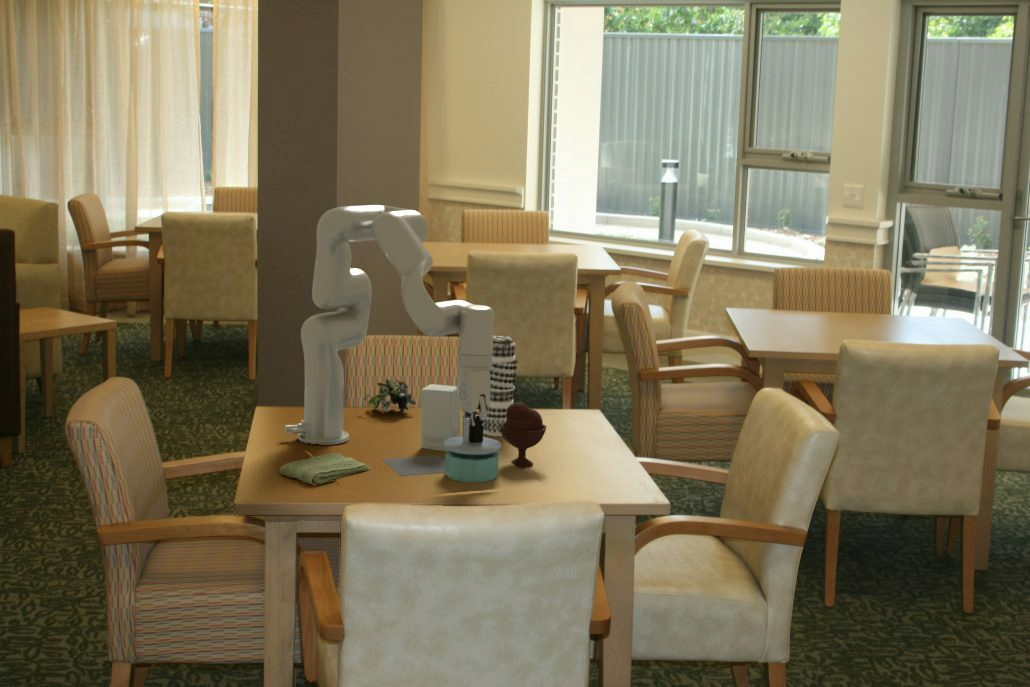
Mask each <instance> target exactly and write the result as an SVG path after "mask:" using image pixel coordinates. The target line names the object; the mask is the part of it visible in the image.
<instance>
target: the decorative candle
mask: <svg viewBox="0 0 1030 687" xmlns="http://www.w3.org/2000/svg"><path fill="white" fill-rule="evenodd" d="M516 344H517V343H515V342H514V341H513V339H512V337H510V336H506V335H493V353H492V368H491V369H489V370H490V409H489V411H488V412H487V418H486V419H485V420H484V427H483V433H484V434H483V435H486V434H487V435H486V436H491V435H492V436H493V437H502V436H501V435H502V434H501V431H500V425H501V424H502V423H503V422H506V421H507V418H506V413H507V409H508V407H509V406H510V405H511V404H513V403H514V398H513V397H514V390H515V389H516V387H515V385H514V384H515V383H516V382H517V380H516V379H515V377H517V374H516V373H515V372H514V371H516V370H517V369H518V366H516V364H518V360H517V359H516V354H515V352H516V351H515V350H516V348H515V347H516ZM492 436H491V437H492Z"/></svg>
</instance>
